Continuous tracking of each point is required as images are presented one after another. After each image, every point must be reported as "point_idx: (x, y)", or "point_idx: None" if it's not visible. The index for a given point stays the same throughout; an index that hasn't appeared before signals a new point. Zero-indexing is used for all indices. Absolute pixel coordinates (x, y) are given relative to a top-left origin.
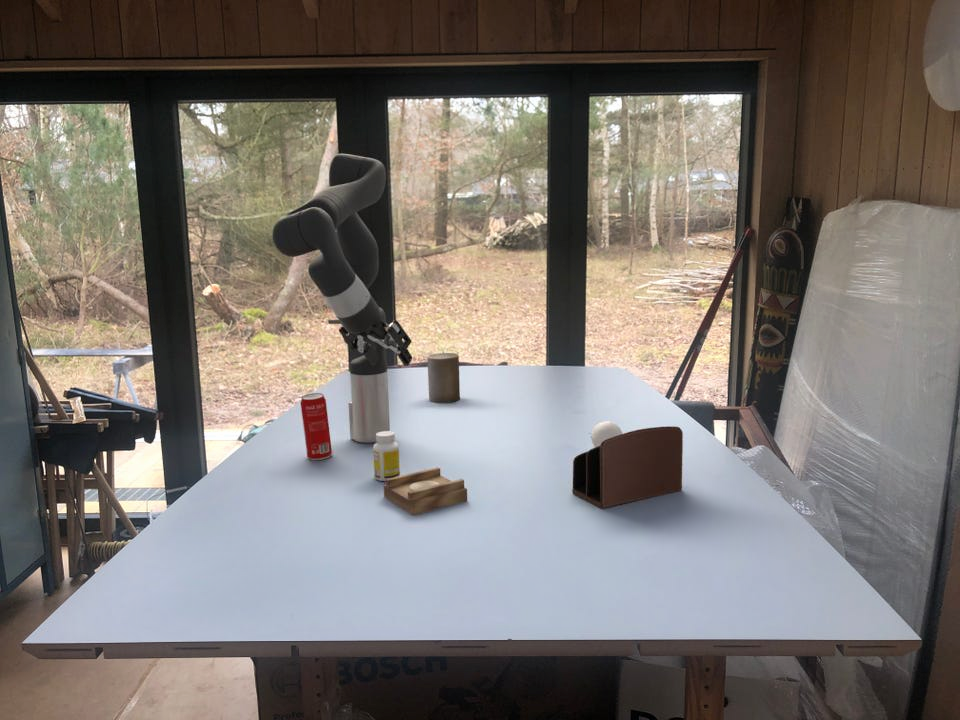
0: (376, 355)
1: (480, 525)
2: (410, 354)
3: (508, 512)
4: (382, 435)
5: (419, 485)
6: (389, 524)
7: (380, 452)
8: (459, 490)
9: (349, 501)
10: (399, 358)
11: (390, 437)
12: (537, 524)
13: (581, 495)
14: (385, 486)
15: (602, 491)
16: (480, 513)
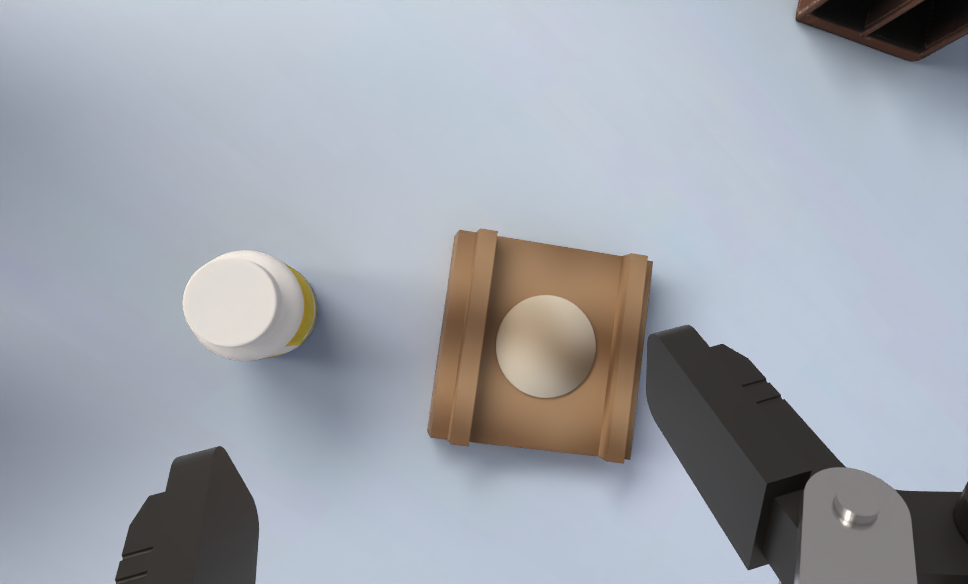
0: (216, 499)
1: (788, 360)
2: (765, 383)
3: (773, 244)
4: (248, 331)
5: (531, 356)
6: (619, 542)
7: (274, 353)
8: (648, 288)
9: (375, 537)
10: (703, 498)
11: (279, 304)
12: (875, 250)
13: (840, 30)
14: (444, 438)
15: (957, 38)
16: (729, 303)
